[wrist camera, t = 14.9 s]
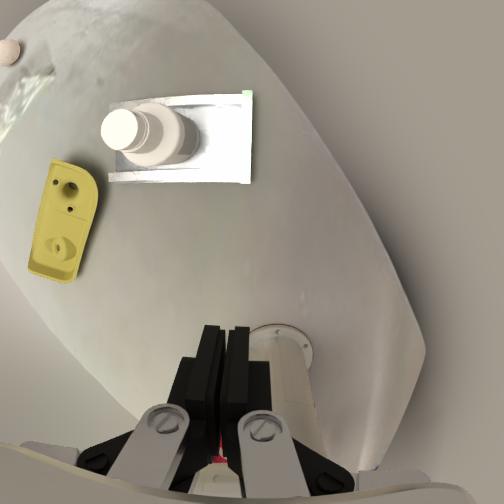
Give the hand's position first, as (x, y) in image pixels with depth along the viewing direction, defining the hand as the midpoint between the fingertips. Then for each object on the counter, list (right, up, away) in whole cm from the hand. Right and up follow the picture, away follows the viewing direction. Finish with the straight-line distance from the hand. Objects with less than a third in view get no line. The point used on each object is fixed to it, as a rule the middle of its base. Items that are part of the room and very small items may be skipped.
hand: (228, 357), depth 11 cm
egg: (-43, +41, +22) cm, 63 cm away
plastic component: (-28, +10, +31) cm, 43 cm away
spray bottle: (-9, +19, +27) cm, 34 cm away
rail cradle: (-9, +20, +28) cm, 35 cm away
